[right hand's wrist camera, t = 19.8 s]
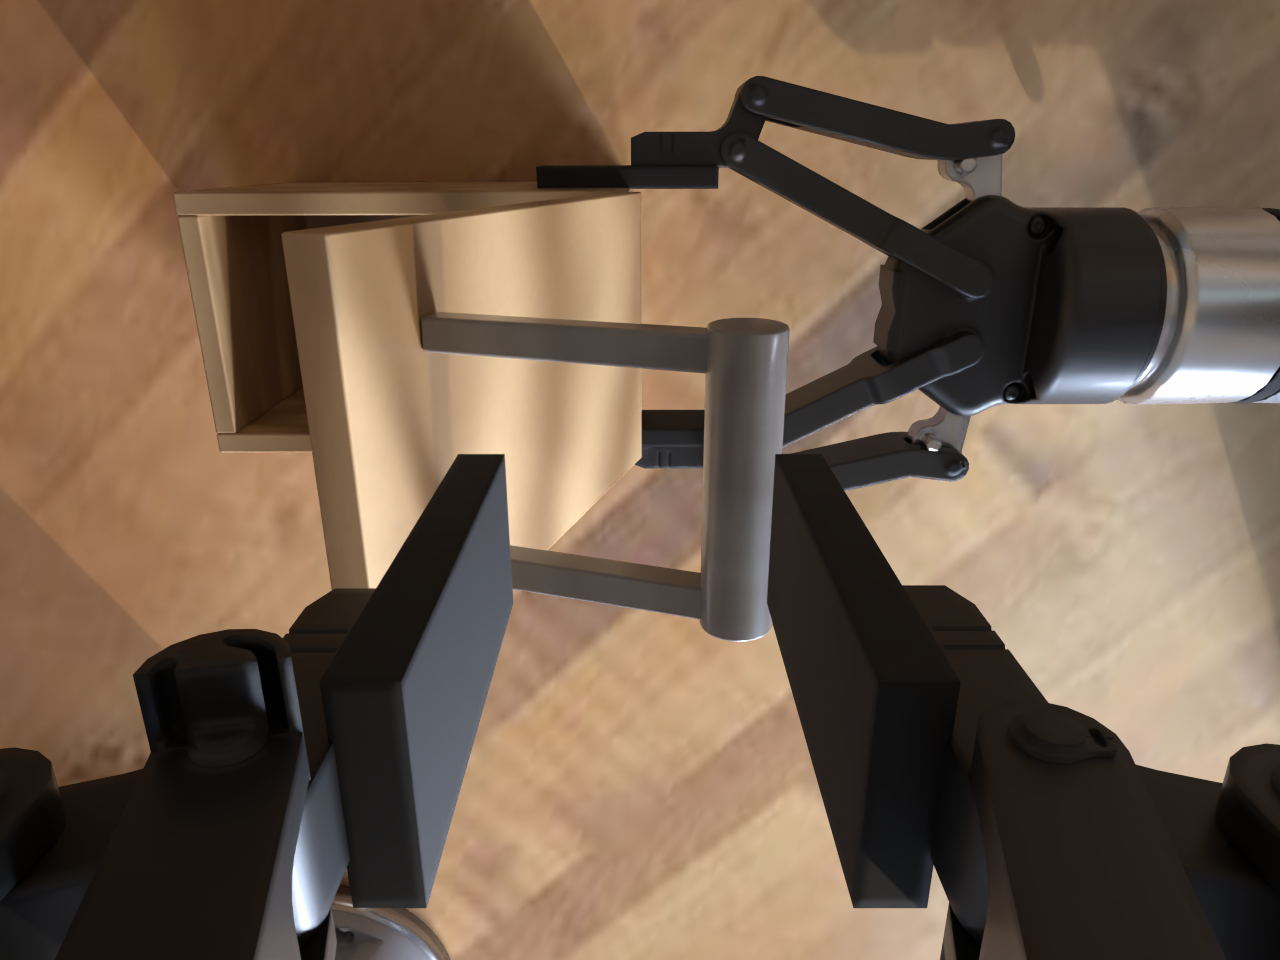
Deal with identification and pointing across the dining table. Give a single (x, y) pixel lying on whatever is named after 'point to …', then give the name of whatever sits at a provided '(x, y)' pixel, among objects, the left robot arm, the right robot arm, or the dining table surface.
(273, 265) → the chest
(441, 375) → the lid
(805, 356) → the dining table surface
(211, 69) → the dining table surface
